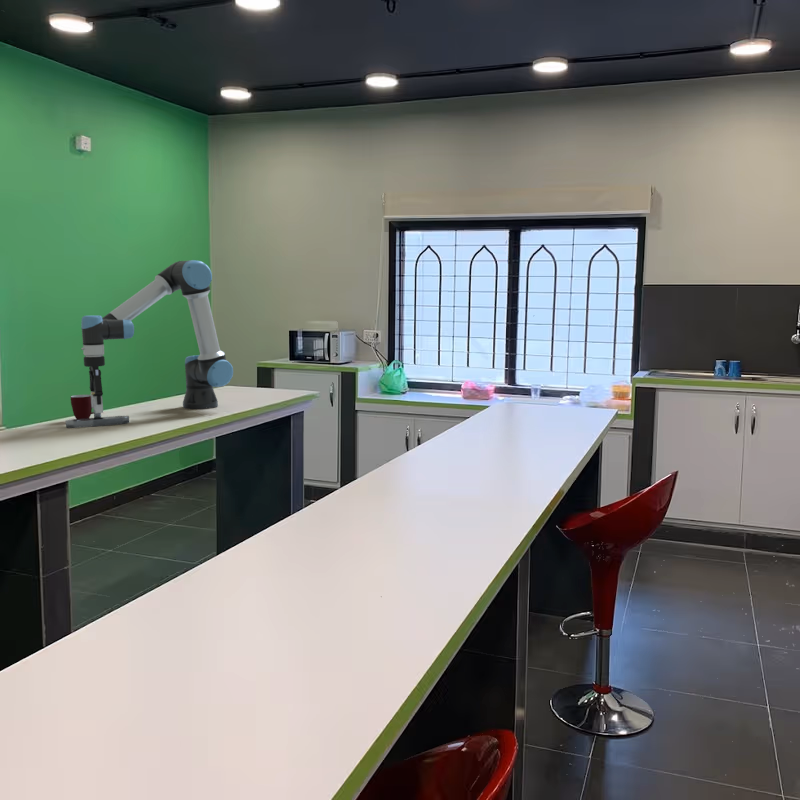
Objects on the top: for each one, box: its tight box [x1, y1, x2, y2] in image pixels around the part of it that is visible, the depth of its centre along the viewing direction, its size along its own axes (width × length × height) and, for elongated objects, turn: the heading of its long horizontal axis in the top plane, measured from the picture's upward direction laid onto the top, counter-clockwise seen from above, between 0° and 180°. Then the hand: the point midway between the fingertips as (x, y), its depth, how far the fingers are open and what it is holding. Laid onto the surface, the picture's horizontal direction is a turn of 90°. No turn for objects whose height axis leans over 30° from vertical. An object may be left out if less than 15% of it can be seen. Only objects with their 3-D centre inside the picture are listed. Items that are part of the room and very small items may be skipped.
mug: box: [70, 394, 94, 419], centre depth 317 cm, size 11×8×10 cm
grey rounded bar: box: [65, 415, 130, 429], centre depth 307 cm, size 23×5×2 cm, turn 117°
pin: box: [90, 391, 102, 420], centre depth 306 cm, size 3×3×13 cm
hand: (97, 410), depth 306 cm, fingers open, 13 cm apart
